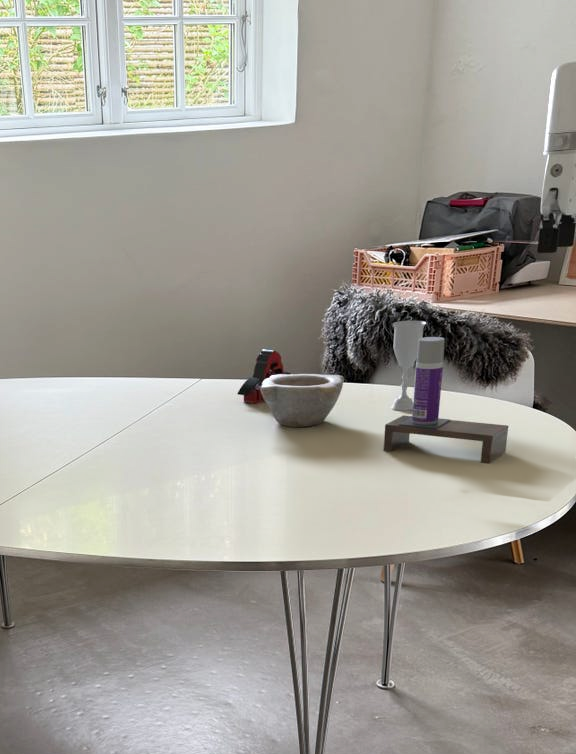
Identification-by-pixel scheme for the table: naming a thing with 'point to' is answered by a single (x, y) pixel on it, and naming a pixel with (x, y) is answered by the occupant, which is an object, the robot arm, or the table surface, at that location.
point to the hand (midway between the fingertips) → (555, 249)
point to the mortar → (301, 397)
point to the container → (428, 380)
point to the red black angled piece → (261, 375)
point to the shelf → (449, 434)
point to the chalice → (406, 356)
